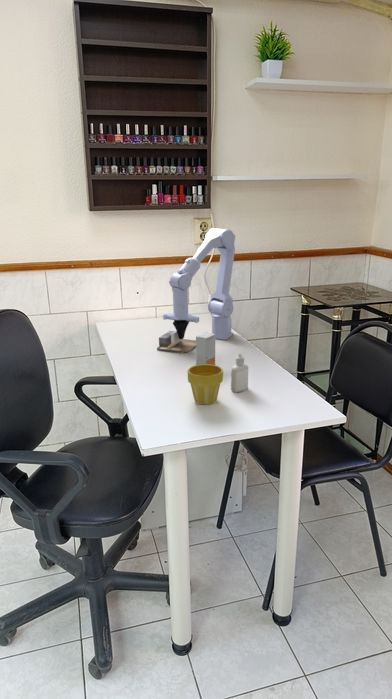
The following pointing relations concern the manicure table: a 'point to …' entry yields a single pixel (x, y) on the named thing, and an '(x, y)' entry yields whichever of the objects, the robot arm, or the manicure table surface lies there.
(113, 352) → the manicure table surface
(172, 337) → the paddle
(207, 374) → the plant pot
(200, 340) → the skincare box
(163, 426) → the manicure table surface
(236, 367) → the eye dropper bottle
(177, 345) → the gauge frame
